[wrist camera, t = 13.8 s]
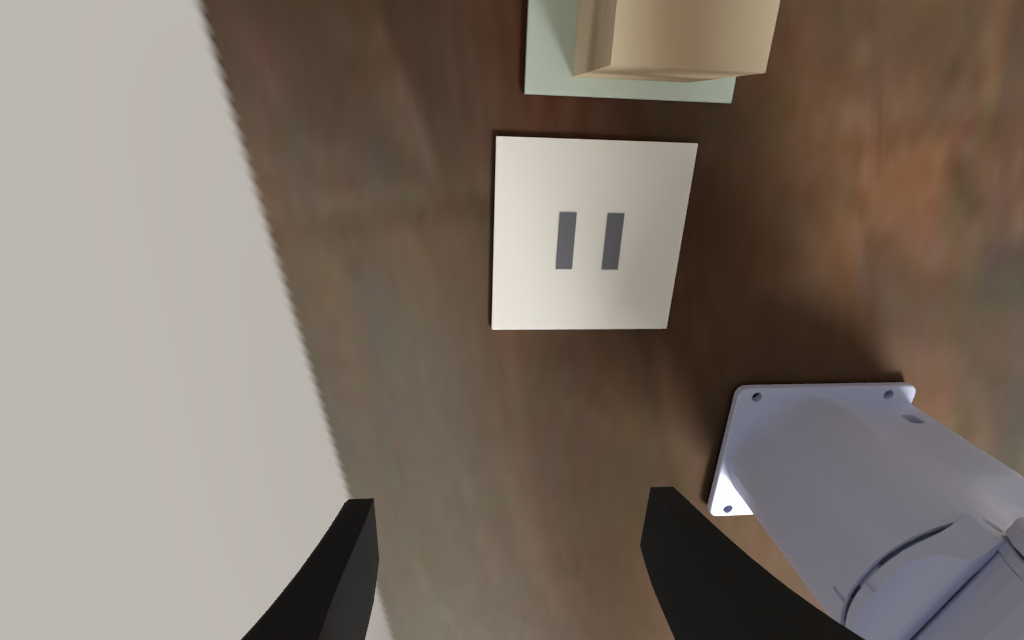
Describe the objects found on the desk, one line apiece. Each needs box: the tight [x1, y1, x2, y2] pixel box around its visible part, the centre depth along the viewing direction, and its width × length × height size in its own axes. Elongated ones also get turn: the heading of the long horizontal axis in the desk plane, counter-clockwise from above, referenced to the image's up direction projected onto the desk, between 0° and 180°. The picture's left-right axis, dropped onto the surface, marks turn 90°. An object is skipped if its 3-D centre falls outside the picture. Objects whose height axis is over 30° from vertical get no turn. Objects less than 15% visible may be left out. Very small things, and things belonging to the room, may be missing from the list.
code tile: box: [492, 136, 698, 330], centre depth 21 cm, size 8×8×1 cm
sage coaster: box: [524, 0, 736, 103], centre depth 18 cm, size 8×6×1 cm
